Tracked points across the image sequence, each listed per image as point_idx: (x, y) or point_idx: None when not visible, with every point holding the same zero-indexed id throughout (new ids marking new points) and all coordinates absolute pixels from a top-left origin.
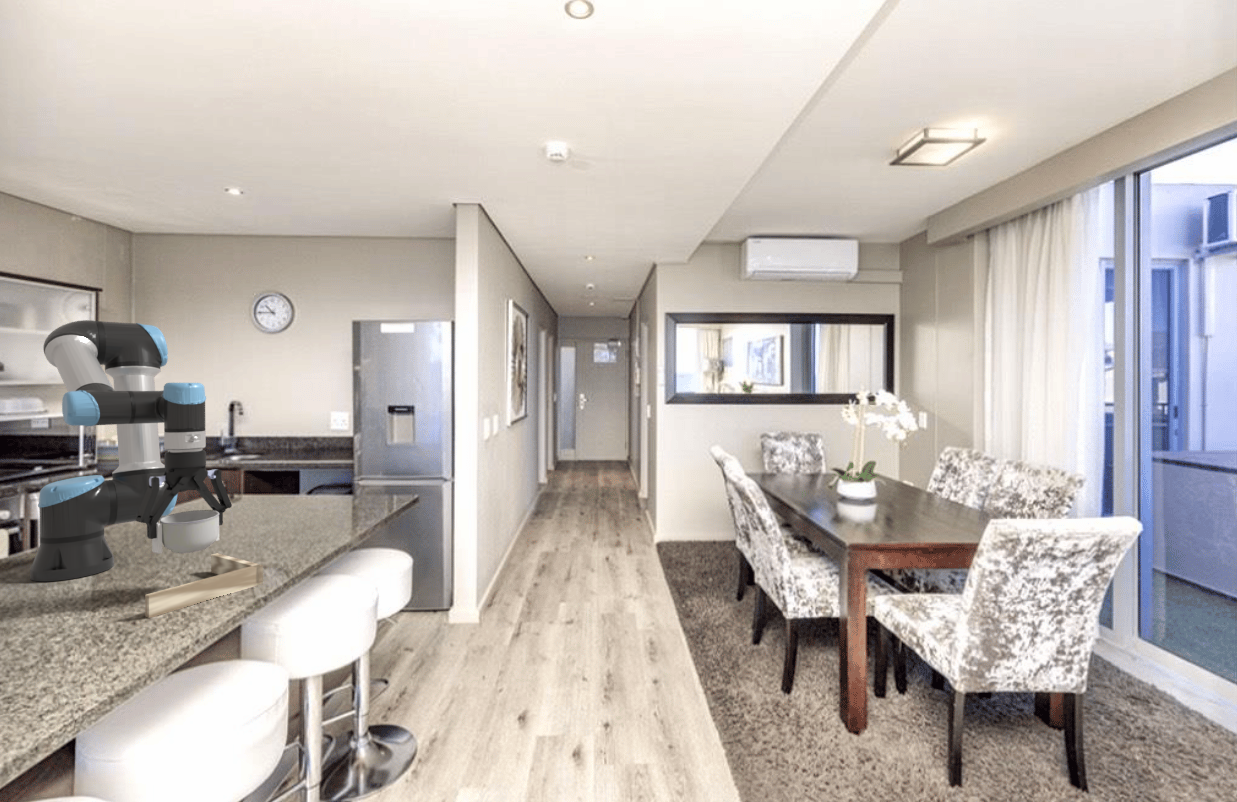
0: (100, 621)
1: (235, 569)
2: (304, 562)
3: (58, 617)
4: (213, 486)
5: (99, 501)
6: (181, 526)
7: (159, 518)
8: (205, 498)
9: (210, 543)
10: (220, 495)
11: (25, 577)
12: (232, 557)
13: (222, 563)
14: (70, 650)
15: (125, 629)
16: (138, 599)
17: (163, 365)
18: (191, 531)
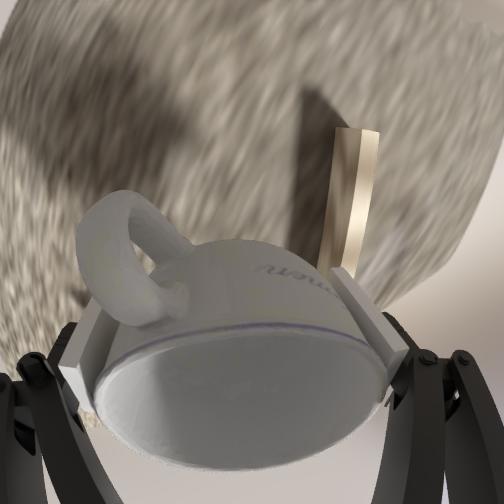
0: (50, 267)
1: (330, 258)
2: (436, 258)
3: (10, 173)
4: (488, 476)
5: None
6: (166, 449)
7: (85, 433)
8: (394, 463)
9: (262, 374)
10: (451, 445)
11: None
12: (364, 223)
13: (345, 194)
14: (28, 341)
15: None
16: (123, 187)
17: None
18: (197, 435)
